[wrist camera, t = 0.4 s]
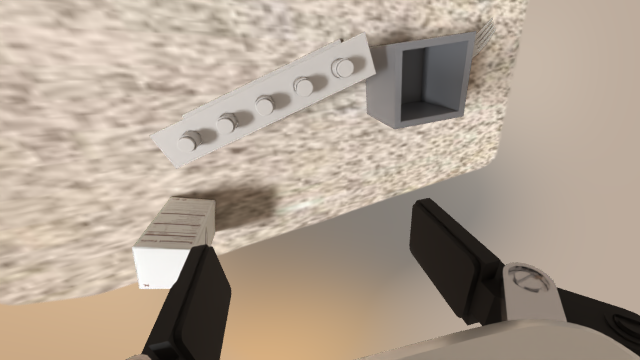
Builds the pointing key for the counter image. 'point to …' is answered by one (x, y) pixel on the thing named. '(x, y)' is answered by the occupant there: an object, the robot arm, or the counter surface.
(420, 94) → the grey open square box
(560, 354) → the robot arm
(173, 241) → the supplement box
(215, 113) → the test tube rack
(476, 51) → the fork
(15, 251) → the counter surface
